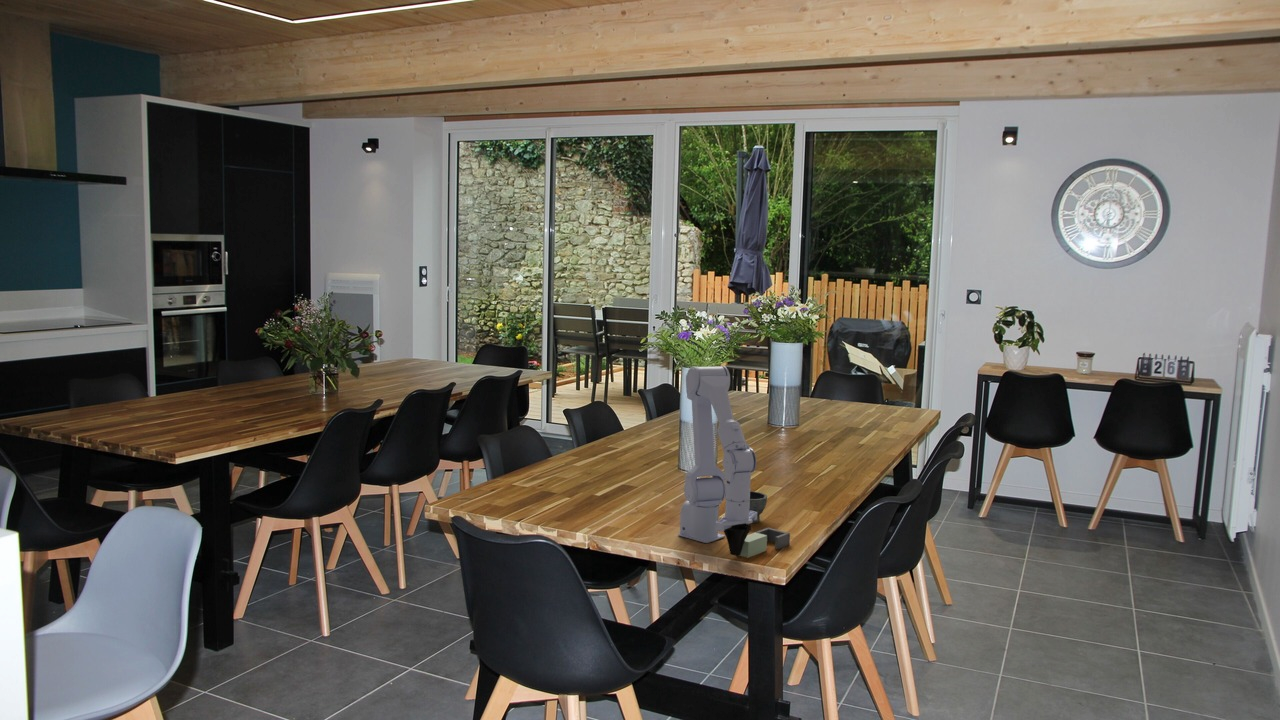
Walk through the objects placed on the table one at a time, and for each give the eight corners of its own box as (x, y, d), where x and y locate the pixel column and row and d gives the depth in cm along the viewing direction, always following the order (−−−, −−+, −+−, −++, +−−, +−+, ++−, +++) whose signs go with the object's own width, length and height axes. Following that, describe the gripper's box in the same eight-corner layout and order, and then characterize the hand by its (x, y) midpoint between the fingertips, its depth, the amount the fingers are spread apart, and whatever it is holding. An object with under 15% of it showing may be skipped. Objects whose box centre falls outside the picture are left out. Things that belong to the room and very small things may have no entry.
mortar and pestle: (771, 519, 260) (773, 476, 258) (757, 526, 252) (759, 483, 251) (735, 512, 266) (737, 470, 264) (720, 519, 258) (721, 476, 256)
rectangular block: (754, 547, 234) (755, 532, 234) (766, 551, 232) (767, 535, 231) (735, 555, 228) (736, 539, 228) (747, 558, 226) (748, 542, 225)
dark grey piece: (755, 543, 237) (755, 531, 237) (767, 538, 241) (767, 527, 241) (777, 549, 233) (778, 537, 233) (789, 544, 237) (790, 533, 237)
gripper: (733, 508, 215) (731, 565, 217) (768, 496, 226) (766, 551, 228) (709, 501, 220) (706, 558, 221) (744, 491, 231) (742, 545, 232)
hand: (735, 554), depth 225 cm, fingers closed
